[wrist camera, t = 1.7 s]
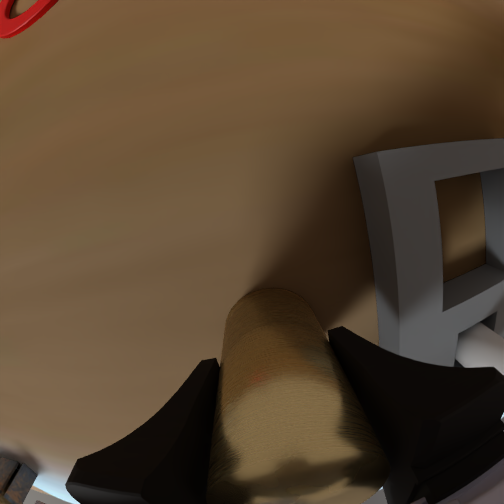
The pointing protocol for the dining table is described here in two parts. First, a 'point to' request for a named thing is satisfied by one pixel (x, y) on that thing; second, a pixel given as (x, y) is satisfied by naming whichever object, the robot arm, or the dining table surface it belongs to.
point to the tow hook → (21, 17)
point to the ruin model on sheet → (15, 482)
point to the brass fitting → (287, 413)
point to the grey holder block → (434, 254)
